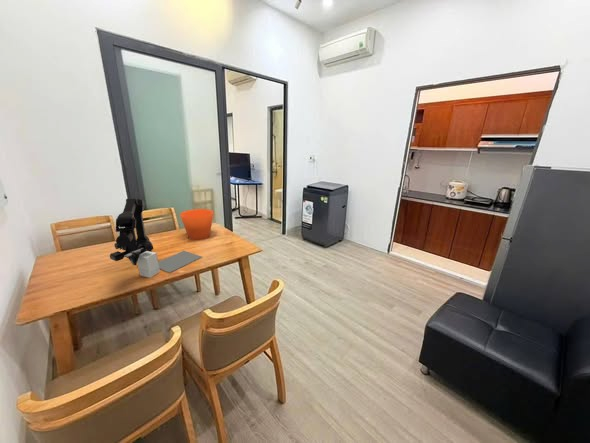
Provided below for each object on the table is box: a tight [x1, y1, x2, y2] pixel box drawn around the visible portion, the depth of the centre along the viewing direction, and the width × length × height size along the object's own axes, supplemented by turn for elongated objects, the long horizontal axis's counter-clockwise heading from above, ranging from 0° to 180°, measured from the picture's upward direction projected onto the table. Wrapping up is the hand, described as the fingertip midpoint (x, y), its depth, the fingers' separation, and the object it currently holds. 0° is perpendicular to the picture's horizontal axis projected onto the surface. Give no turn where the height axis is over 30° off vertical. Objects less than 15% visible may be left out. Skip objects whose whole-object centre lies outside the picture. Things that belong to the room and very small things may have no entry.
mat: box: [158, 250, 203, 274], centre depth 154 cm, size 24×18×1 cm
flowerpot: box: [179, 208, 215, 241], centre depth 192 cm, size 25×25×20 cm
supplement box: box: [137, 251, 161, 279], centre depth 137 cm, size 7×7×13 cm
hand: (134, 265), depth 131 cm, fingers closed
